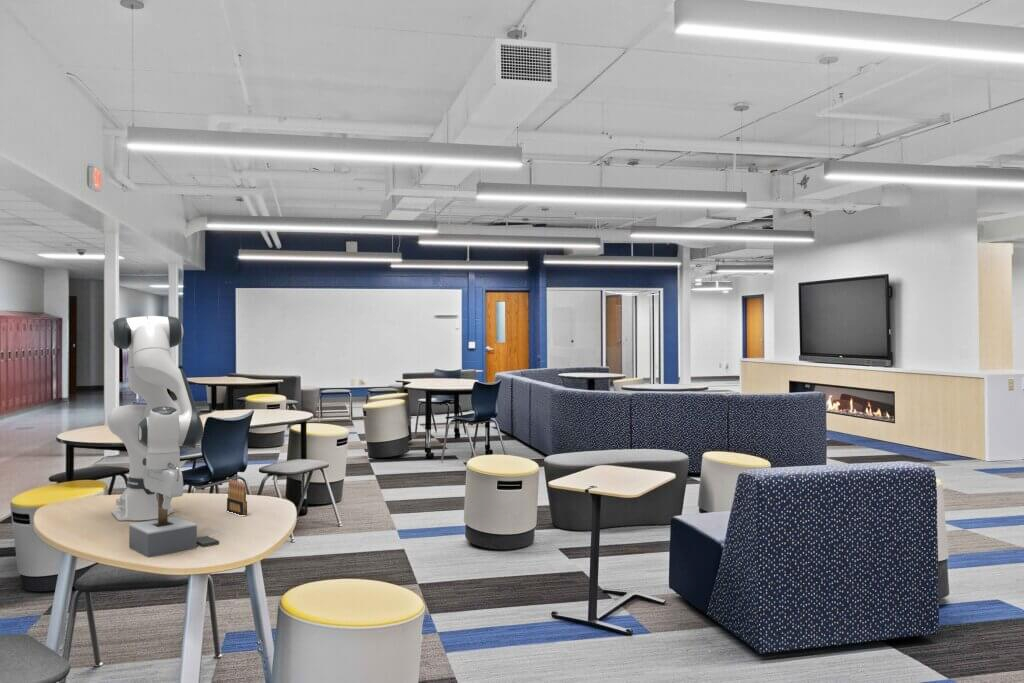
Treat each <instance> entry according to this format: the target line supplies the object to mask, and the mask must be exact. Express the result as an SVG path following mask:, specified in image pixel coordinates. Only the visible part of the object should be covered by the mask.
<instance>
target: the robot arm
mask: <svg viewBox="0 0 1024 683" xmlns="http://www.w3.org/2000/svg"><path fill="white" fill-rule="evenodd" d="M109 335H110V339H111V342H112V344H113V345H114V347H116V348H117V349H121V350H127V349H128V360H127V361H128V386H129V388H130V390H131V392H133V393H134V394H136V395H138V396H140V397H142V398H143V399H144V401H145V403H146V404H126V405H120V406H115V407H113V409H112V410H110V412H109V414H108V416H107V427H108V429H109V430H110V432H111V433H112V434H113V435H115V436H116V437H117V438H119V440H121V442H122V443H123V444H124V446H125V448H126V450H127V455H128V461H129V463H128V464H129V476H128V478H127V482H126V488H125V490H124V491H123V492H122V493H121V494H120V496H119V498H116V502H115V503H116V506H117V508H115V509H112V510H111V513H112V515H113V516H114V517H115V519H116V520H117V521H121V522H122V521H151V520H157V519H158V493H160V494H163V498H164V501H163V503H162V508H163V509H168V516H169V515H170V514H172V513H173V514H174V512H175V508H172V507H171V506H172V505H171V502H172V499H173V498H177V497H178V498H181V497H182V496H183V494H184V479H183V478H184V477H183V472H182V470H180V469H179V467H180V466H181V462H180V461H181V460H180V459H181V448H180V446H181V447H194V446H196V445H197V444H198V443H199V442H200V441H201V440H202V439H203V437H204V432H205V430H204V424H203V421H202V419H201V416H200V415H199V412H198V410H197V407H196V406H197V405H196V402H195V400H194V395H193V394H192V390H191V387H190V383H189V382H188V381H189V380H188V378H187V375H186V373H185V371H184V370H183V369H182V368H180V367H178V366H177V365H176V364H175V362H174V360H173V358H172V354H171V348H174V347H176V346H178V345H179V344H180V343H181V342H182V339H183V337H184V326H183V324H182V322H181V320H180V319H179V318H178V317H176V316H170V315H168V316H163V315H145V316H134V317H133V316H132V317H118V318H116V319H115V320H114V321H113V322H112V325H111V326H110V330H109ZM167 389H168V390H170V391H171V392H173V393H174V395H175V396H176V399H177V402H178V404H177V403H176V402H175V401H174V400H173V399H172V397H171V396H170V394H169V393H168V390H167ZM118 506H119V507H118Z"/></svg>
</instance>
